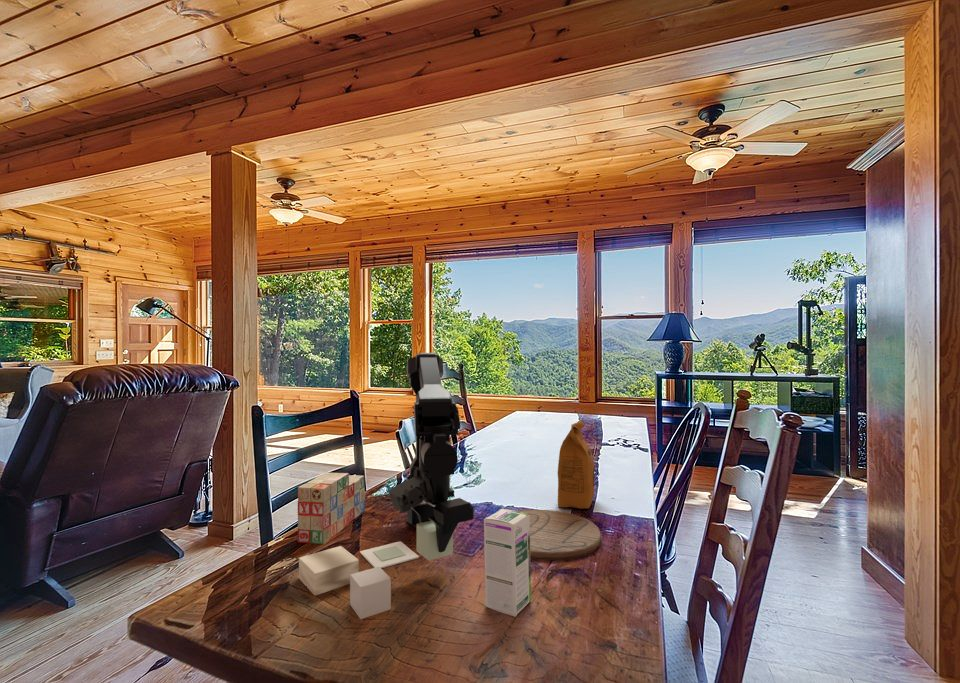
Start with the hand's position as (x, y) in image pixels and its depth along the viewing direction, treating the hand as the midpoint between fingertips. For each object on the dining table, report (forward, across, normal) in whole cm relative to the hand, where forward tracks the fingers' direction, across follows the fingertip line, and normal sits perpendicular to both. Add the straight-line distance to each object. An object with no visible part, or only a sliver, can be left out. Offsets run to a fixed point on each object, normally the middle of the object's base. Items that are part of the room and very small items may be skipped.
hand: (434, 546), depth 86 cm
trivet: (+6, -2, +29) cm, 30 cm away
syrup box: (+5, +16, +5) cm, 17 cm away
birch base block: (+5, -9, -17) cm, 20 cm away
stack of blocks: (+5, -35, -8) cm, 36 cm away
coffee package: (+5, -13, +51) cm, 53 cm away
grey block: (+5, +4, -14) cm, 15 cm away
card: (+5, -12, -4) cm, 14 cm away
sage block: (+1, 0, 0) cm, 1 cm away
